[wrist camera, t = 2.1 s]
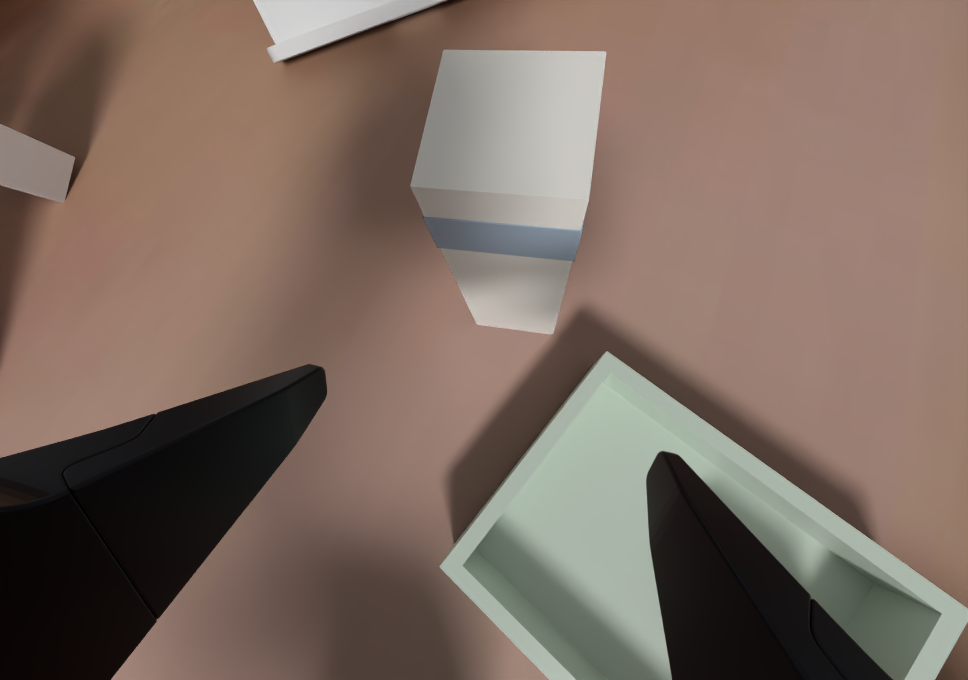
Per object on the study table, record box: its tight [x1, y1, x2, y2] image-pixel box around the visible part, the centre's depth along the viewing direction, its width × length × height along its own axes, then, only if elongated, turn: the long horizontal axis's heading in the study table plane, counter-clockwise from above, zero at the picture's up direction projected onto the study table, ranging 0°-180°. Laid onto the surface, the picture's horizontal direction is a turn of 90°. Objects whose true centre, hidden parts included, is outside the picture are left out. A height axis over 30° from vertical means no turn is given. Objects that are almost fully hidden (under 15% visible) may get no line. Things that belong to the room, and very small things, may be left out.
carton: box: [410, 50, 606, 334], centre depth 17 cm, size 5×5×14 cm
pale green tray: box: [440, 351, 968, 680], centre depth 18 cm, size 14×18×4 cm
